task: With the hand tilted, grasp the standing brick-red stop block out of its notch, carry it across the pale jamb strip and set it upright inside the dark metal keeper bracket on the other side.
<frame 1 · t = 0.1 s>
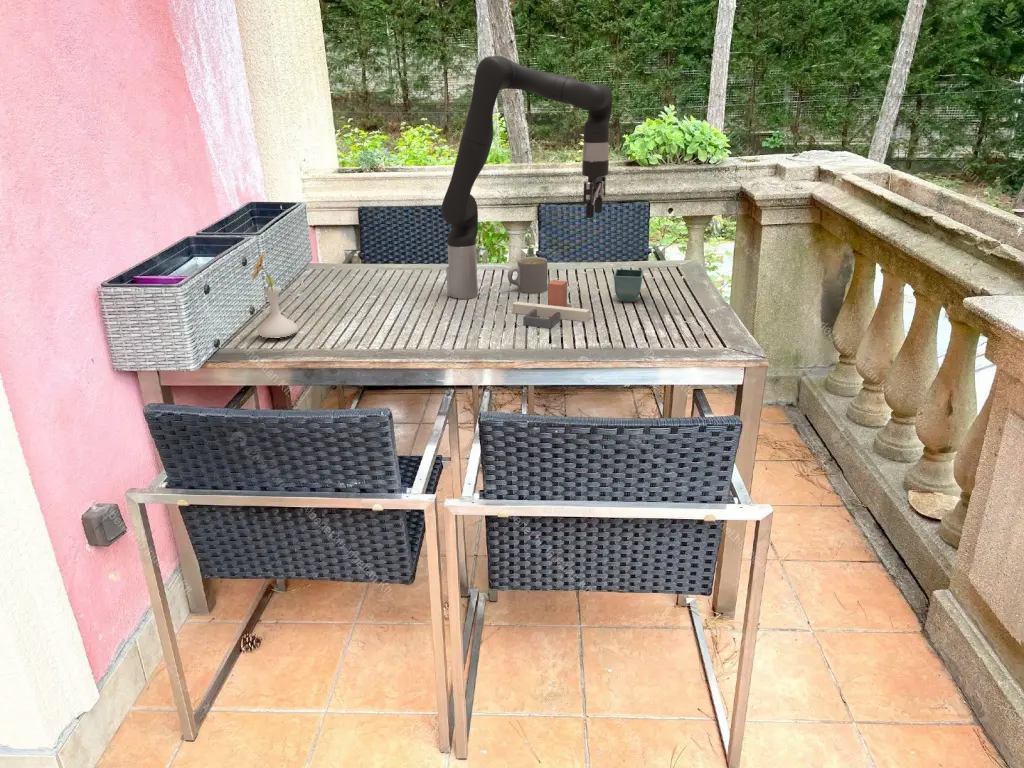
hand: (594, 215, 228), 29 cm above the table, tool pointing down, fingers open, 8 cm apart
flower in vase: (277, 337, 222), on the table
jamb strip: (550, 316, 234), on the table
coffee mug: (527, 290, 262), on the table
flower pot: (627, 300, 248), on the table
keeper bracket: (542, 322, 229), on the table
stop block: (557, 310, 239), on the table
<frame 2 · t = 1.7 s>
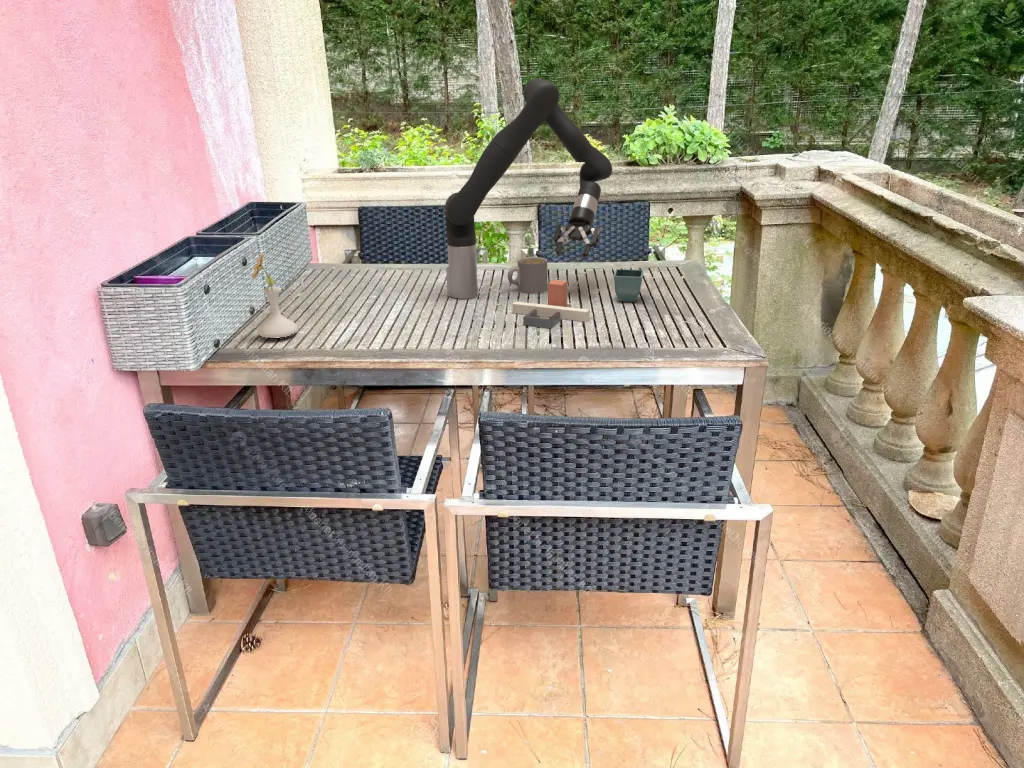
hand: (570, 255, 243), 15 cm above the table, tool tilted 45°, fingers open, 8 cm apart
nothing on the table moved.
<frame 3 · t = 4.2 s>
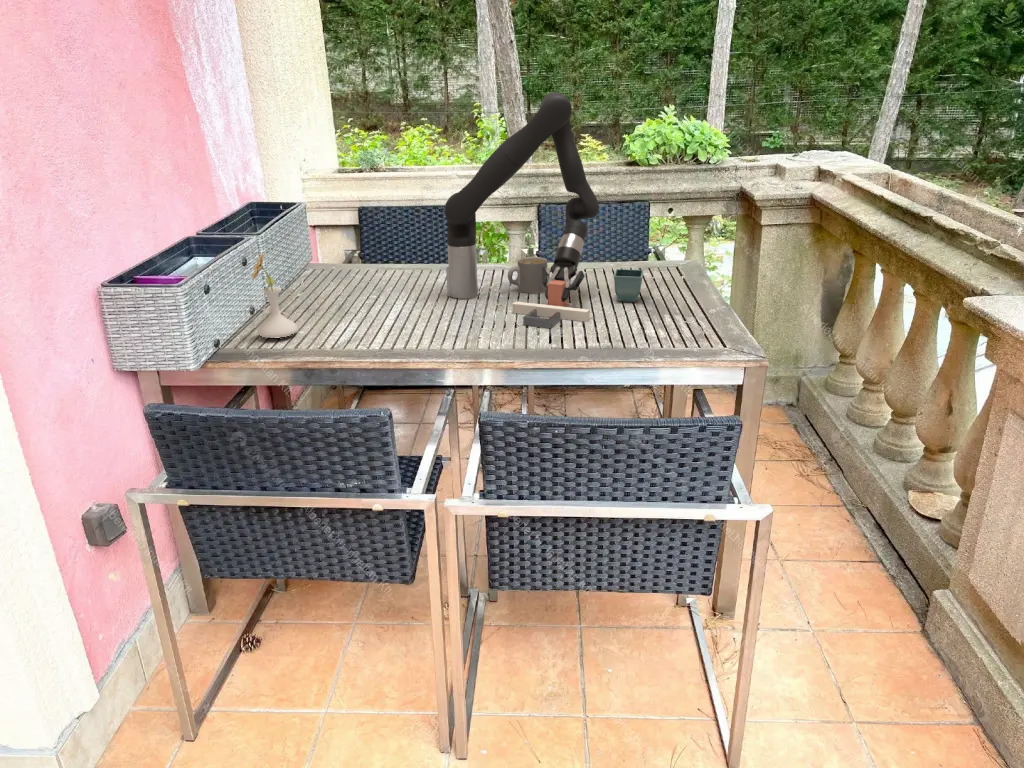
hand: (555, 299, 236), 4 cm above the table, tool tilted 45°, fingers closed on stop block, 4 cm apart
stop block: (557, 310, 239), on the table, touching gripper
everything else where it was.
when the fingers open (6 cm above the table, at t = 8.9 s): stop block drops 1 cm, resting in keeper bracket.
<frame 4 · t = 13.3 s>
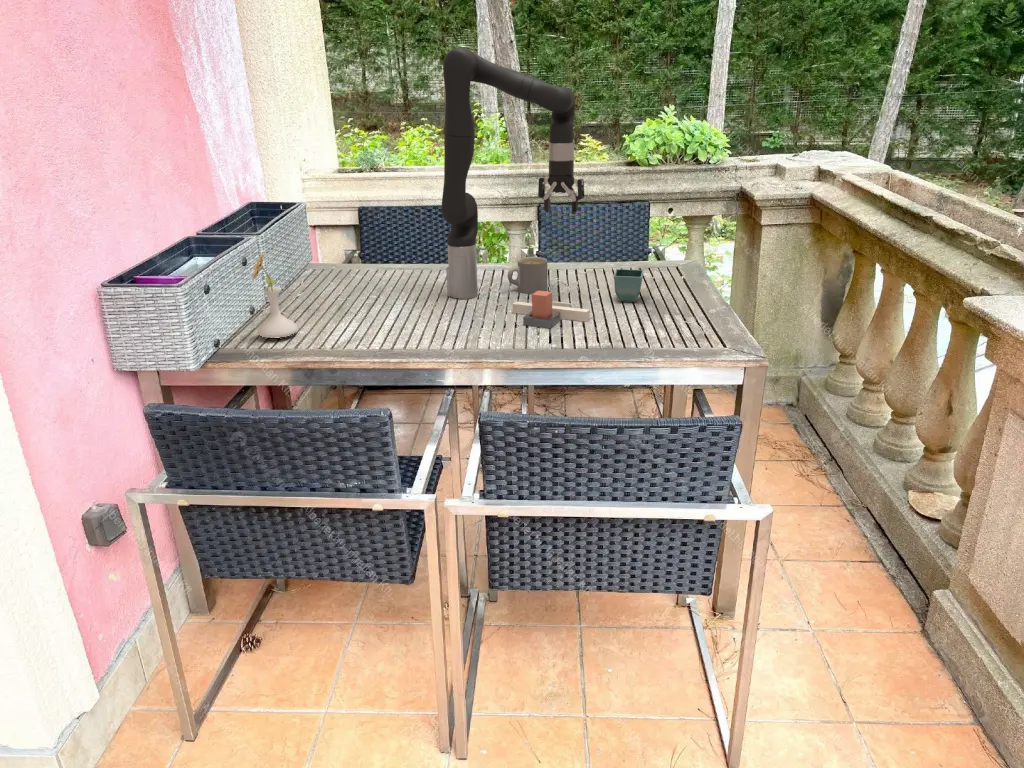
hand: (561, 212, 238), 28 cm above the table, tool pointing down, fingers open, 8 cm apart
stop block: (542, 322, 229), resting in keeper bracket
everything else where it was.
at the end: stop block 0.0 cm off-centre on the keeper bracket, point 0.0 cm above the keeper bracket's base; stop block tilted 0°; the gripper is holding nothing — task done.
